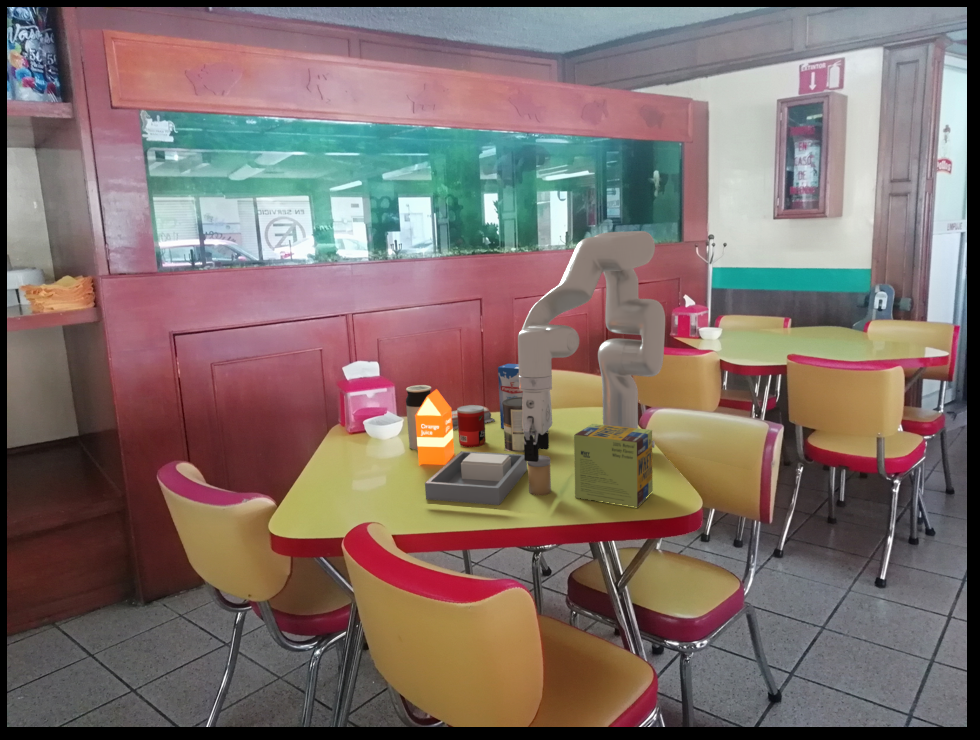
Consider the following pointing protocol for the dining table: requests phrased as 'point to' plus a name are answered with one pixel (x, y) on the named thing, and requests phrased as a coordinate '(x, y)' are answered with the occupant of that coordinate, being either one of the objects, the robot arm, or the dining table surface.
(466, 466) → the egg box
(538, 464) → the amber jar
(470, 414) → the canned food
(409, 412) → the travel mug
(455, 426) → the packaged product
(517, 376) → the milk carton
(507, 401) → the coffee can
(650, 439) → the protein box
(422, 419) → the orange juice
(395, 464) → the dining table surface
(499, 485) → the tray
